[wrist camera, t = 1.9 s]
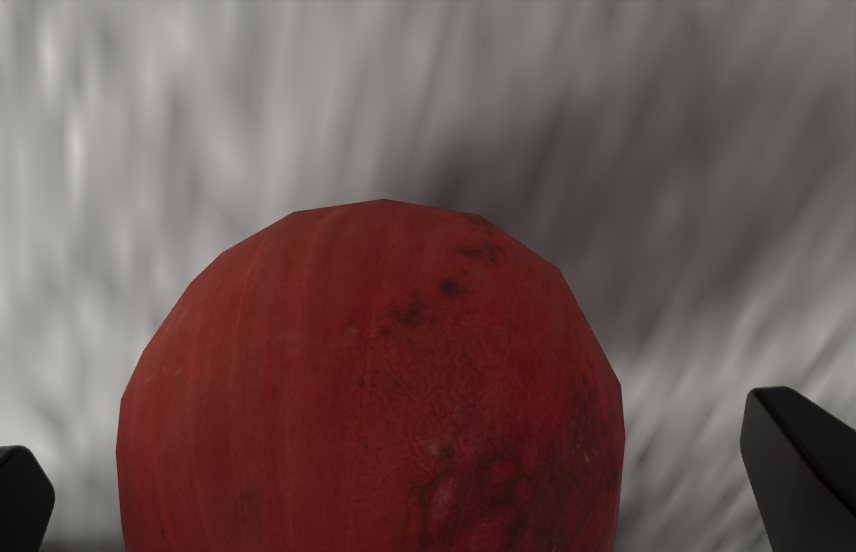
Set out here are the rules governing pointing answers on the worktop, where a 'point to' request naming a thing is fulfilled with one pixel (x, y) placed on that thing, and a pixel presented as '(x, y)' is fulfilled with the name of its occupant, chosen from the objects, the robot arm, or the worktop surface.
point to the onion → (373, 397)
